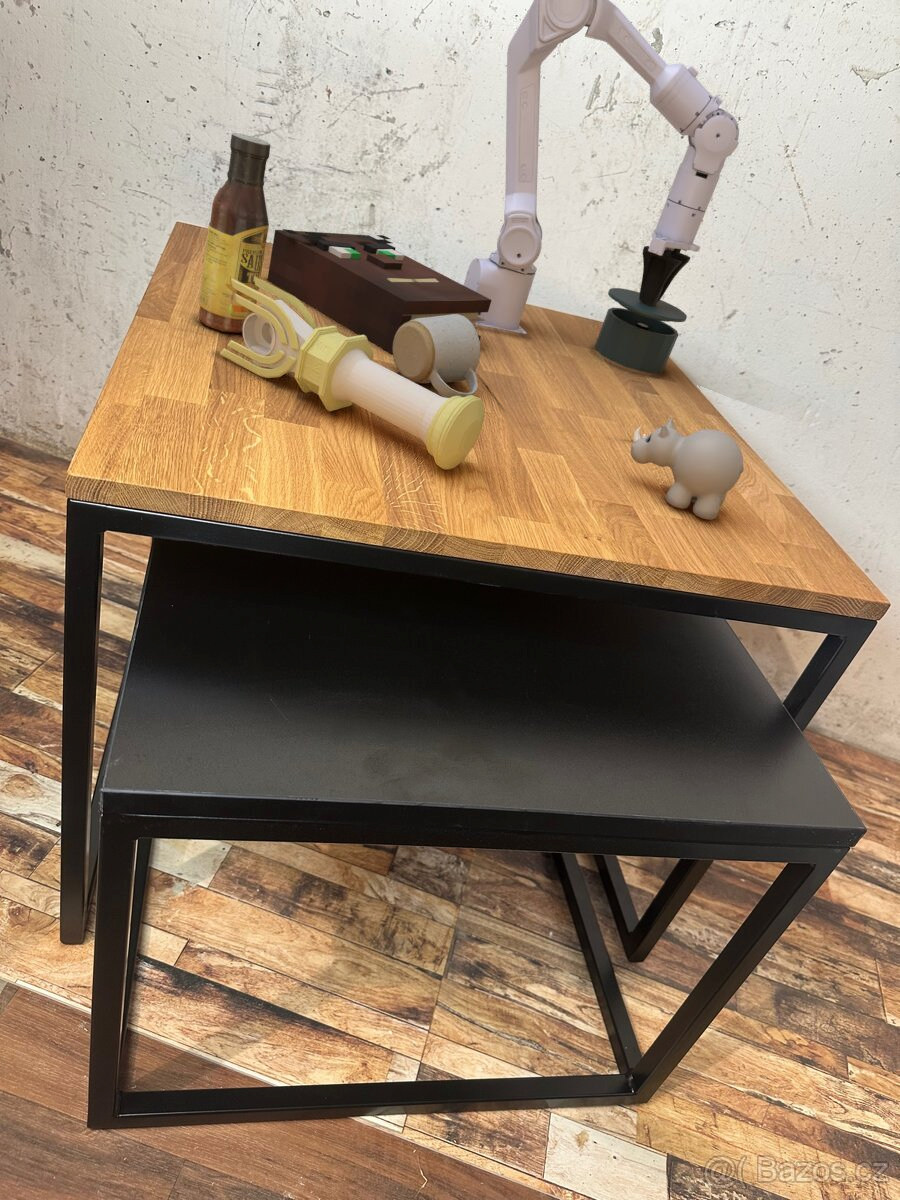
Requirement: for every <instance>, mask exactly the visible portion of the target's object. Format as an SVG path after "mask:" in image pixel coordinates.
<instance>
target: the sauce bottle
mask: <svg viewBox="0 0 900 1200" xmlns="http://www.w3.org/2000/svg"><path fill="white" fill-rule="evenodd" d="M229 143H230V144H229V148H230V158H229V164H228V171H227V172H226V177H227V180H226V181H225V182H224V184H223V185H222V186H221V187H219V189H218V191H217V192H216V194H215V195H214V197H213V200H212V206H211V214H210V220H209V223H208V227H207V234H206V235H207V236H206V244H205V251H204V257H203V258H204V259H203V266H202V272H201V273H202V274H201V281H200V283H201V284H200V288H199V289H200V290H199V298H198V305H199V309H198V319H199V320H200V322H201V323H202V324H203V325H205V326H207V327H209V328H211V329H215V330H217V331H220V332H227V333H237V334H238V333H243V324H244V321H245V319H246V318H247V316H248V315H250V314H252V313H255V312H253V311H251V310H249V309H247V308H245V307H243V306H242V305H240V304H238V303H237V302H236V297H235V294H237V295H239V296H241V297H243V298H245V299H247V300H249V301H251V302H252V303H254V304H256V305H257V302H258V301H257V300H255V299H253V298H251V297H249V296H248V295H246V294H244V293H242V292H240V291H238V290H236V289H234V288H233V287H232V282H231V278H233V279H235V280H237V281H239V282H240V283H242V284H244V285H246V286H248V287H250V288H252V289H254V290H256V291H259V290H260V288H259V287H257V286H256V285H255V281H254V276H255V277H257V278H259V279H261V278H262V277H261V276H262V272H263V271H262V270H263V264H264V258H265V254H266V253H265V252H266V245H267V239H268V234H269V227H270V224H269V223H270V222H269V217H268V216H269V215H268V209H267V204H266V197H265V191H264V190H265V189H264V186H265V181H264V180H265V174H266V168H267V162H268V160H269V158H270V153H271V143H270V142H268V141H267V140H264V139H262V138H258V137H255V136H251V135H248V134H244V133H237V132H232V133H231V137H230V142H229Z"/></svg>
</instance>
